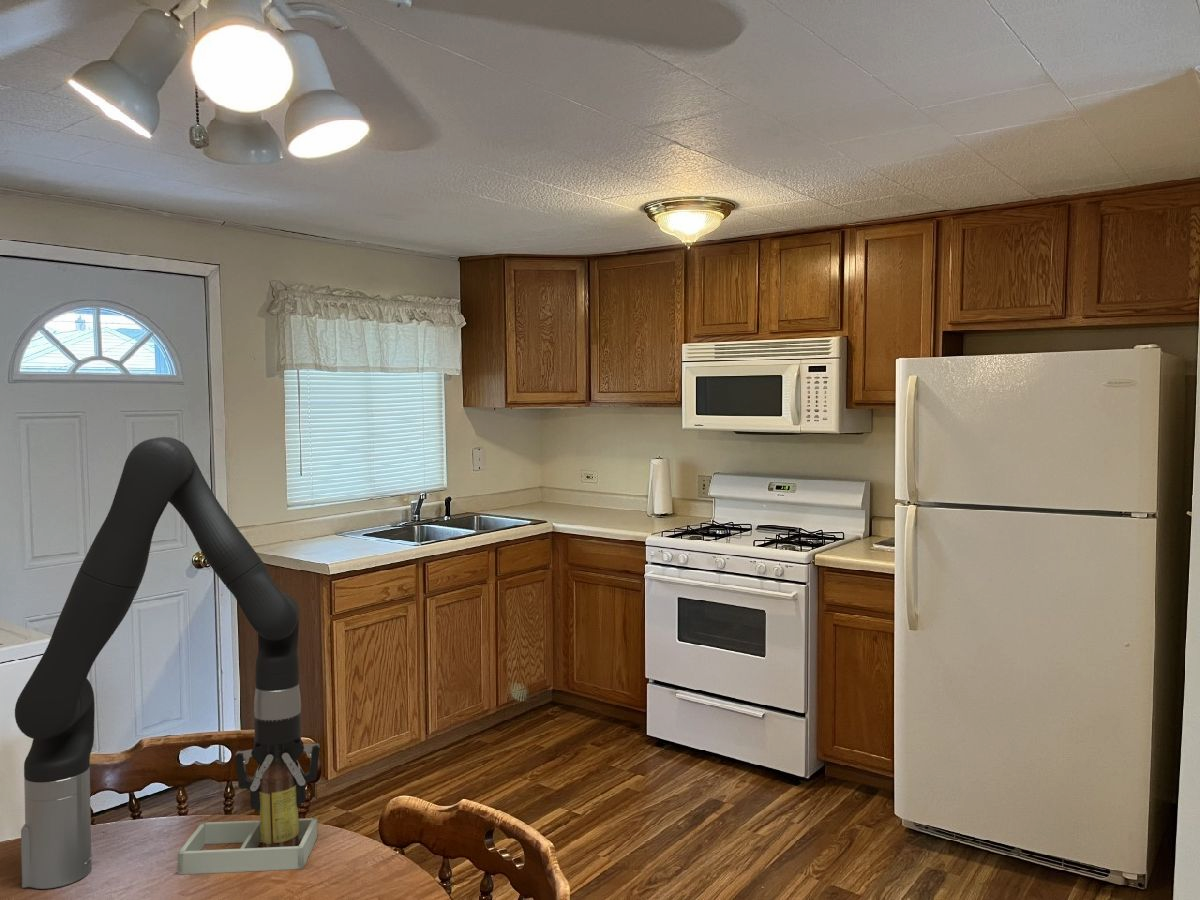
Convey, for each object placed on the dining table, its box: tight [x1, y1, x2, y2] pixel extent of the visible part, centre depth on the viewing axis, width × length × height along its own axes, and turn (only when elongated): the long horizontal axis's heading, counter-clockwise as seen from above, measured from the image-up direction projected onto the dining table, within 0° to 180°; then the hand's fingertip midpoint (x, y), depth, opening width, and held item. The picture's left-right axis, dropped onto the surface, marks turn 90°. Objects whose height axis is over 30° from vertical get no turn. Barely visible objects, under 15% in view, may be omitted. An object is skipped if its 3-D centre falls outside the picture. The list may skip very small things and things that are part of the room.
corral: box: [177, 817, 319, 876], centre depth 156 cm, size 20×12×4 cm, turn 96°
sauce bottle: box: [259, 744, 300, 848], centre depth 156 cm, size 7×6×20 cm
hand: (278, 807), depth 156 cm, fingers closed on sauce bottle, 6 cm apart
